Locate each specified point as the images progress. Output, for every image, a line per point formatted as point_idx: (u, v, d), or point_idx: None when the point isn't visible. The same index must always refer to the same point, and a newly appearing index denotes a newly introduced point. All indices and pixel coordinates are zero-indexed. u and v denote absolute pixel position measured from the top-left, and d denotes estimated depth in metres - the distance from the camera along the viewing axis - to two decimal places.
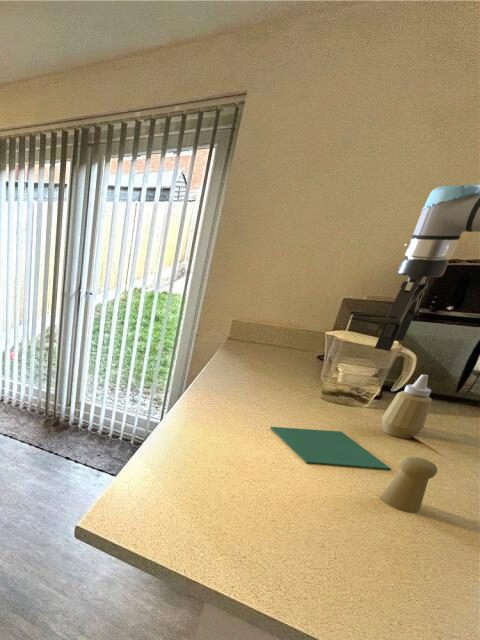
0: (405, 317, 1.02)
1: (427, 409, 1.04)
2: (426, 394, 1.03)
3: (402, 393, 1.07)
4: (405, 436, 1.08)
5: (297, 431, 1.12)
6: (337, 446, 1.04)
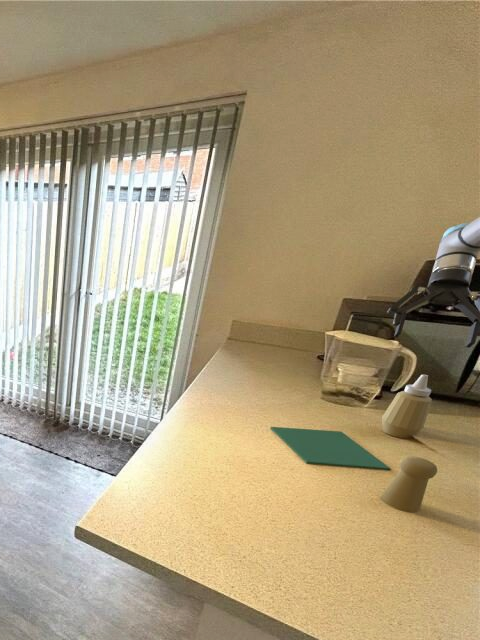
0: (473, 325, 1.04)
1: (427, 409, 1.04)
2: (426, 394, 1.03)
3: (402, 393, 1.07)
4: (405, 436, 1.08)
5: (297, 431, 1.12)
6: (337, 446, 1.04)
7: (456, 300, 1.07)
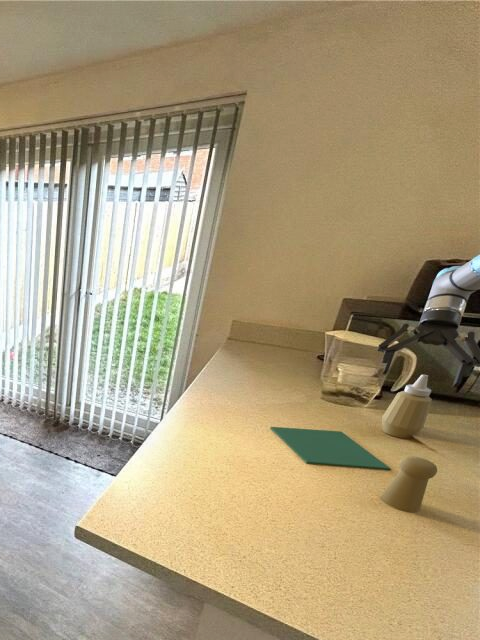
0: (460, 365, 1.06)
1: (427, 409, 1.04)
2: (426, 394, 1.03)
3: (402, 393, 1.07)
4: (405, 436, 1.08)
5: (297, 431, 1.12)
6: (337, 446, 1.04)
7: (444, 340, 1.09)
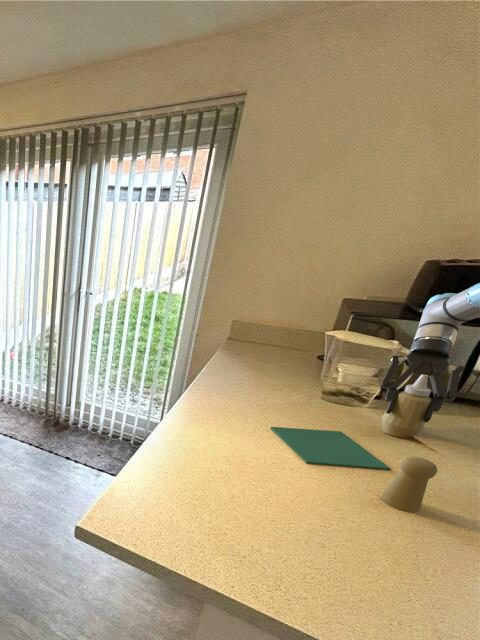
0: None
1: (427, 409, 1.04)
2: (426, 394, 1.03)
3: (402, 393, 1.07)
4: (405, 436, 1.08)
5: (297, 431, 1.12)
6: (337, 446, 1.04)
7: None
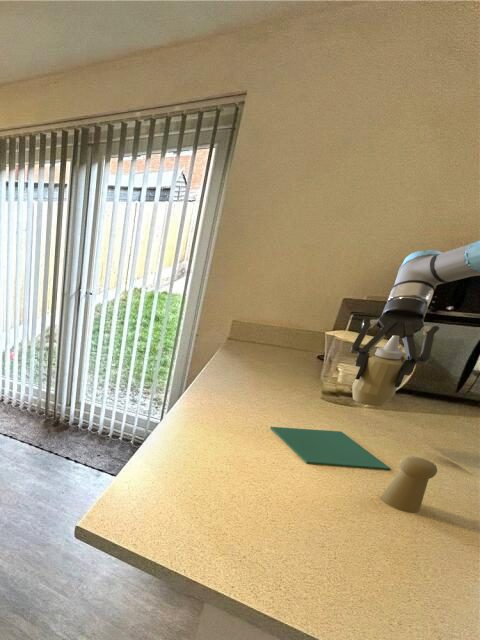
0: None
1: (398, 373, 0.96)
2: (397, 356, 0.95)
3: (372, 357, 0.99)
4: (376, 403, 1.00)
5: (297, 431, 1.12)
6: (337, 446, 1.04)
7: None
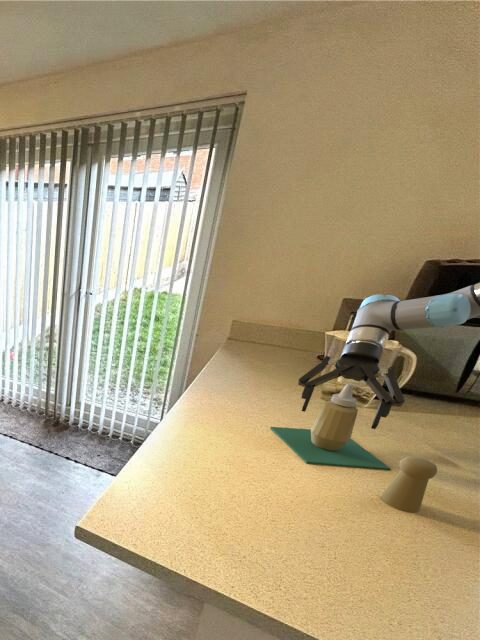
0: (379, 405, 0.97)
1: (353, 420, 0.98)
2: (351, 404, 0.98)
3: (328, 403, 1.01)
4: (332, 448, 1.02)
5: (297, 431, 1.12)
6: None
7: (365, 376, 1.00)
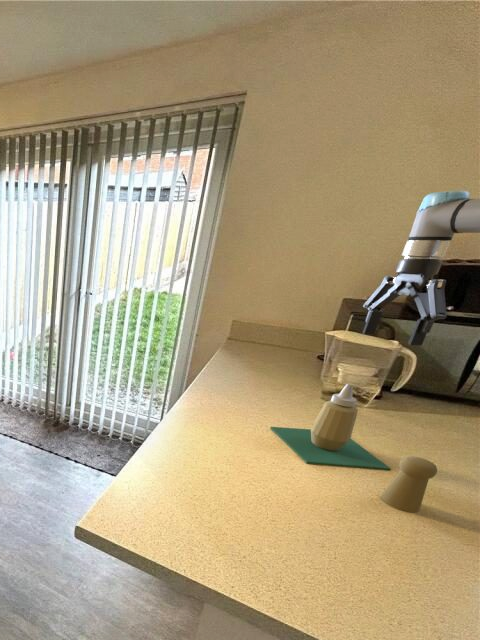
0: None
1: (353, 420, 0.98)
2: (351, 404, 0.98)
3: (328, 403, 1.01)
4: (332, 448, 1.02)
5: (297, 431, 1.12)
6: None
7: None
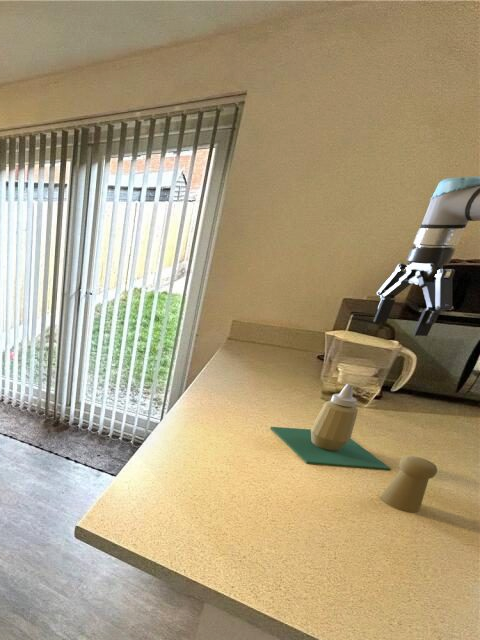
0: None
1: (353, 420, 0.98)
2: (351, 404, 0.98)
3: (328, 403, 1.01)
4: (332, 448, 1.02)
5: (297, 431, 1.12)
6: None
7: None
